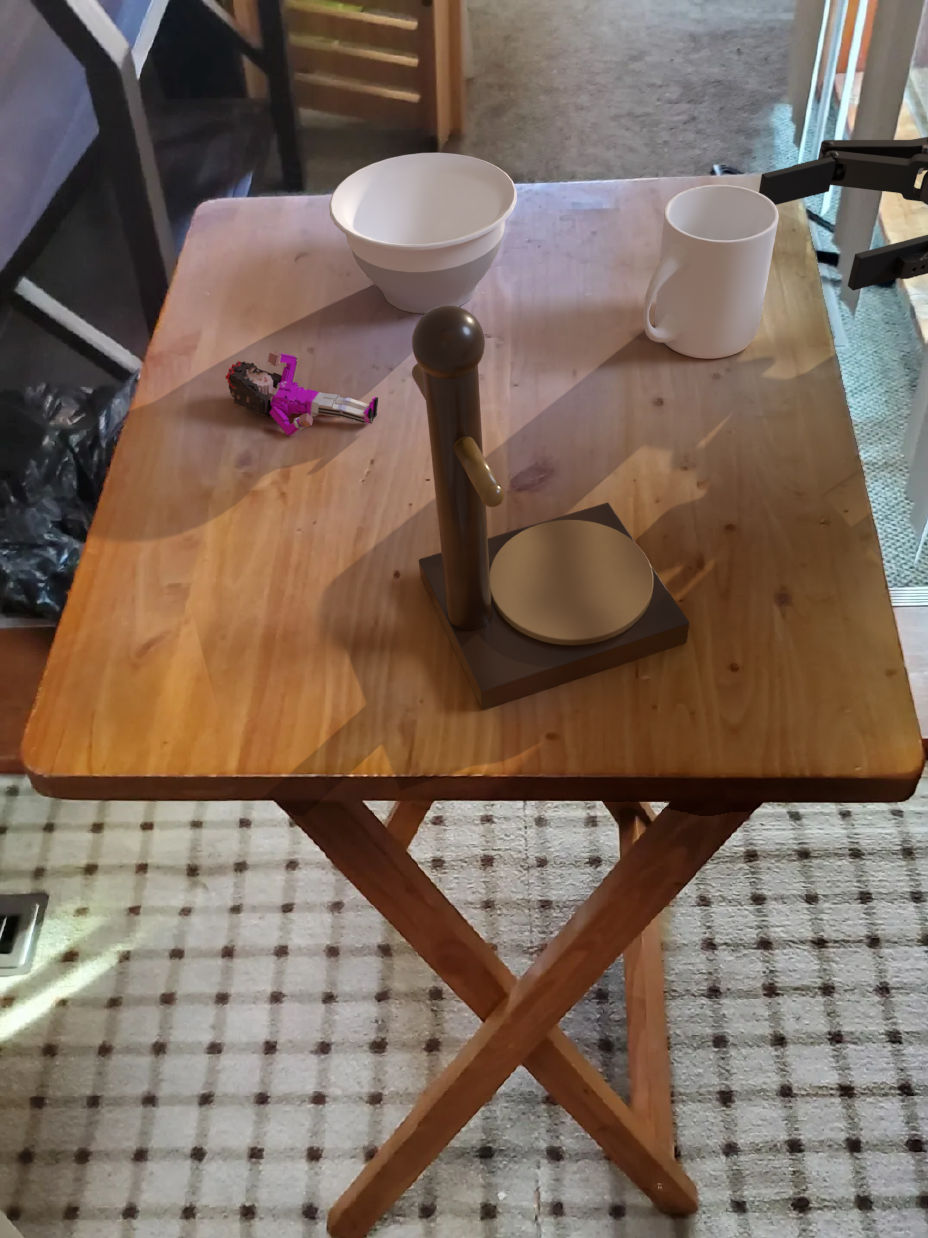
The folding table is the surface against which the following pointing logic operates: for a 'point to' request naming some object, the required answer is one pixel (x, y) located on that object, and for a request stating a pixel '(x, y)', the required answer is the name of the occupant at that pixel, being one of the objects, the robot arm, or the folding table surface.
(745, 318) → the mug
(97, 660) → the folding table surface
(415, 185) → the bowl
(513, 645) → the mug stand
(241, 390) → the character figurine
